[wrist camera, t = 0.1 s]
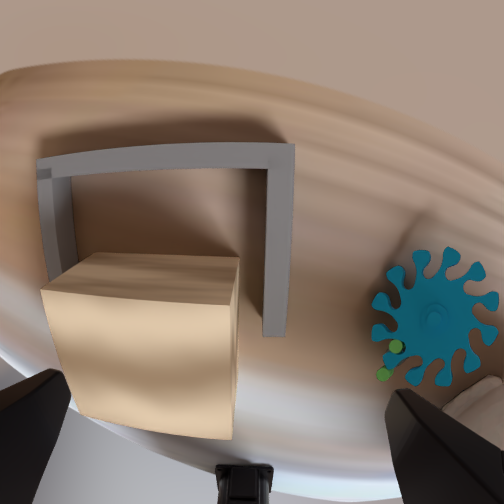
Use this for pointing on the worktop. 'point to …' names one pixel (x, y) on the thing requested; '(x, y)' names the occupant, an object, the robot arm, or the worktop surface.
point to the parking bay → (178, 157)
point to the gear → (432, 319)
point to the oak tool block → (150, 340)
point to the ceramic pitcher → (481, 409)
